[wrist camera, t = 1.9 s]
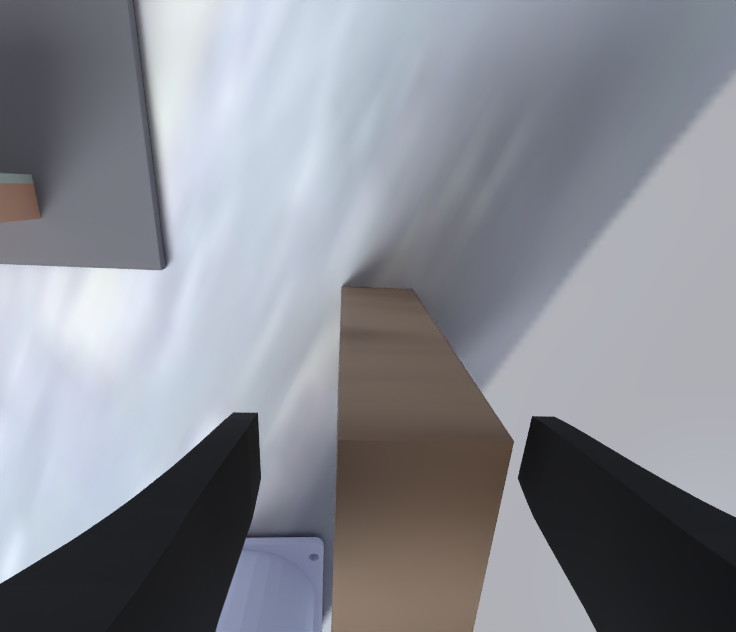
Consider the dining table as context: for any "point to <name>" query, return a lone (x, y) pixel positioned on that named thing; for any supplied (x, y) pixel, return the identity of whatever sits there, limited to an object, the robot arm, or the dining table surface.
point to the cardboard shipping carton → (410, 472)
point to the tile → (17, 198)
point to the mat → (77, 135)
